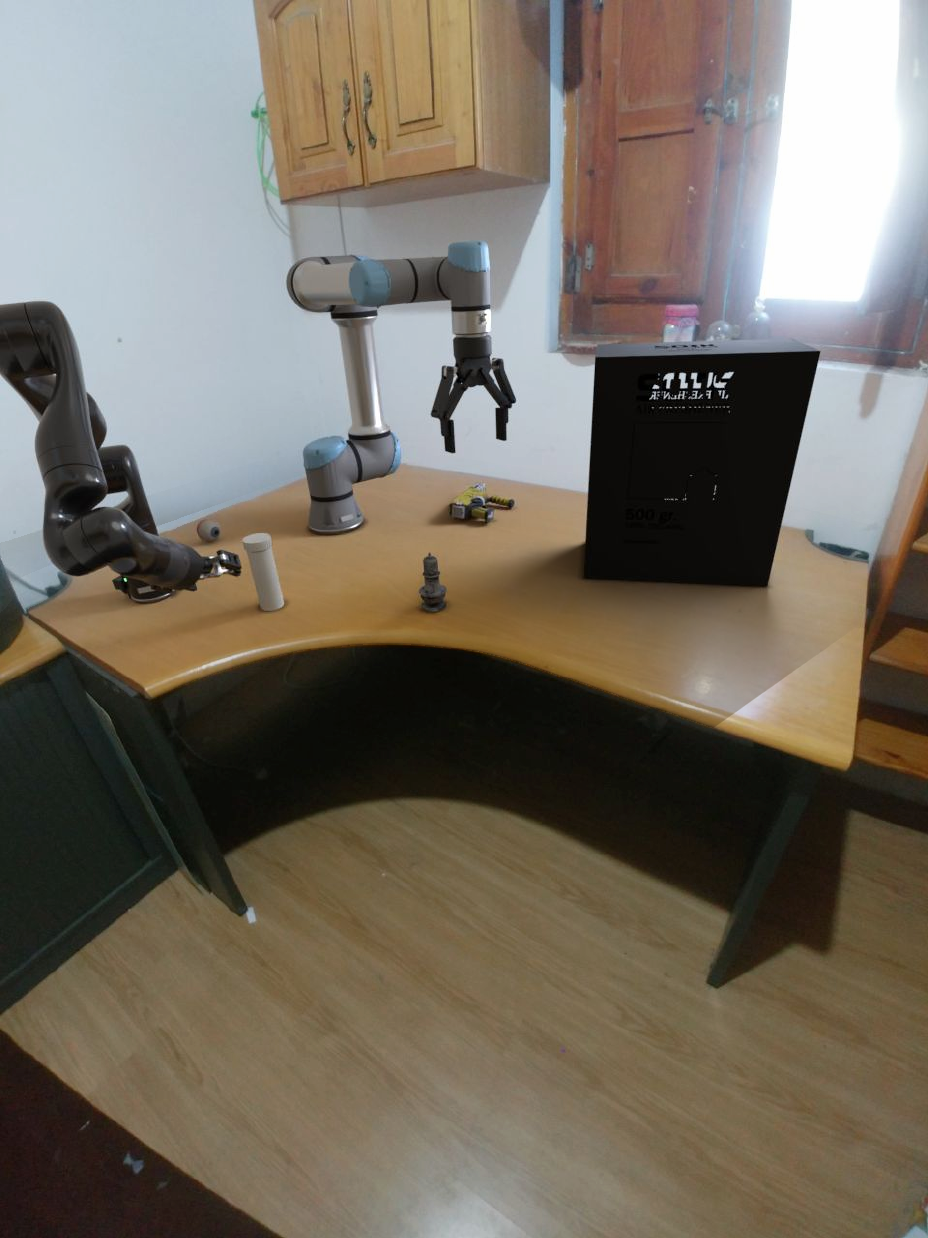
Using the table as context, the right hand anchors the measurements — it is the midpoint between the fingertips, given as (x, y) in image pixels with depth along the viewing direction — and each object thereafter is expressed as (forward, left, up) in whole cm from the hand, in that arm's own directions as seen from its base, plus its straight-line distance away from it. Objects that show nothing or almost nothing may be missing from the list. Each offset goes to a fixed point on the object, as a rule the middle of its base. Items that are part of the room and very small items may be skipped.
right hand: (476, 445), depth 127 cm
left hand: (-6, -57, -14) cm, 59 cm away
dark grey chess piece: (+9, -19, -28) cm, 35 cm away
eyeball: (-62, -44, -28) cm, 81 cm away
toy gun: (-29, +25, -28) cm, 47 cm away
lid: (-15, -45, -13) cm, 49 cm away
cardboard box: (+28, +33, -28) cm, 51 cm away
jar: (-15, -45, -28) cm, 55 cm away
